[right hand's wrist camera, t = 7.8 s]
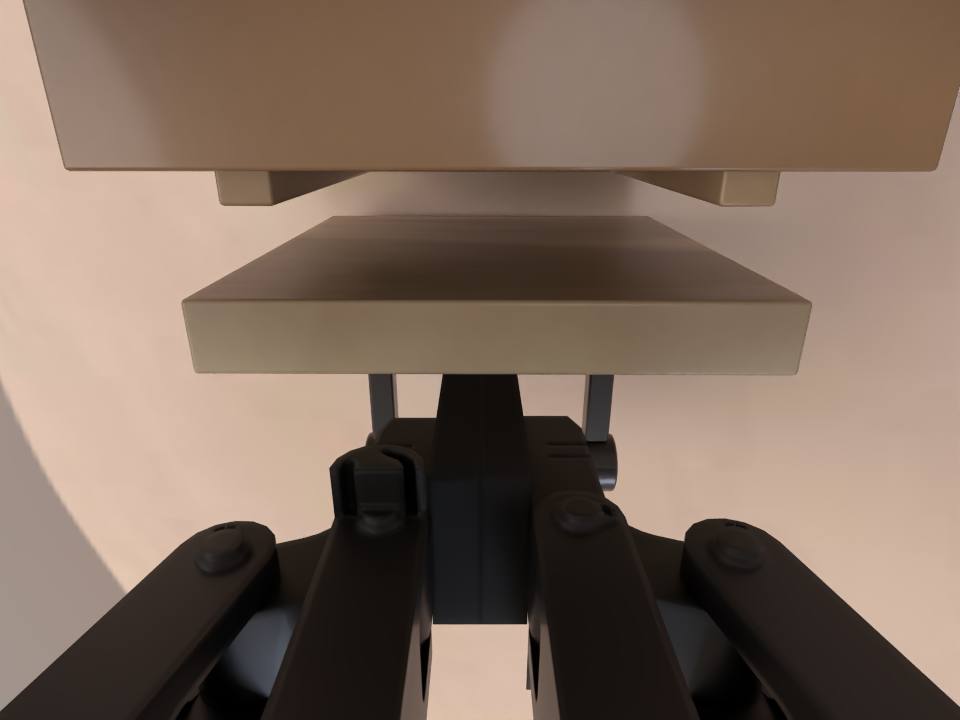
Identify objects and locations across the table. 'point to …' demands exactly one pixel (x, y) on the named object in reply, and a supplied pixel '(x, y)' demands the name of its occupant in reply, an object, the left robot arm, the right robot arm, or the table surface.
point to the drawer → (497, 298)
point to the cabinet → (499, 84)
